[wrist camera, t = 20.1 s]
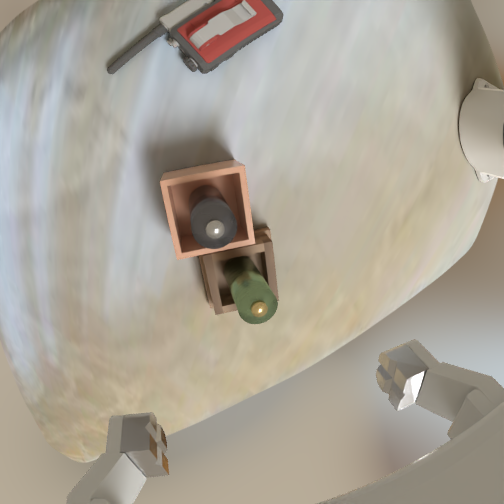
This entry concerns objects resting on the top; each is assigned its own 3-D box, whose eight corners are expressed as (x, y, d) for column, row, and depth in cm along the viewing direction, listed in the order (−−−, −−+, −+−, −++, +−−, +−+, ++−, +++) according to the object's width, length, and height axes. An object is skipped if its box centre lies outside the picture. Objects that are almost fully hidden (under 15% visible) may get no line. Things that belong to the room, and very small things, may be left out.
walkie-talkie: (242, -27, 26) (105, 68, 28) (250, -42, 22) (95, 61, 24) (287, 22, 30) (152, 120, 32) (300, 11, 26) (148, 119, 28)
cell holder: (268, 227, 39) (275, 236, 36) (275, 289, 43) (282, 303, 40) (195, 241, 38) (197, 252, 35) (209, 304, 41) (212, 319, 38)
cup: (234, 159, 35) (244, 165, 30) (244, 226, 38) (255, 243, 33) (163, 172, 34) (159, 181, 28) (177, 239, 37) (177, 259, 32)
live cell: (255, 253, 39) (280, 289, 30) (255, 283, 40) (278, 324, 32) (223, 257, 38) (239, 294, 29) (224, 286, 40) (240, 329, 31)
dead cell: (220, 182, 35) (235, 203, 26) (225, 215, 37) (241, 246, 28) (185, 188, 34) (187, 211, 26) (191, 222, 36) (196, 255, 27)
